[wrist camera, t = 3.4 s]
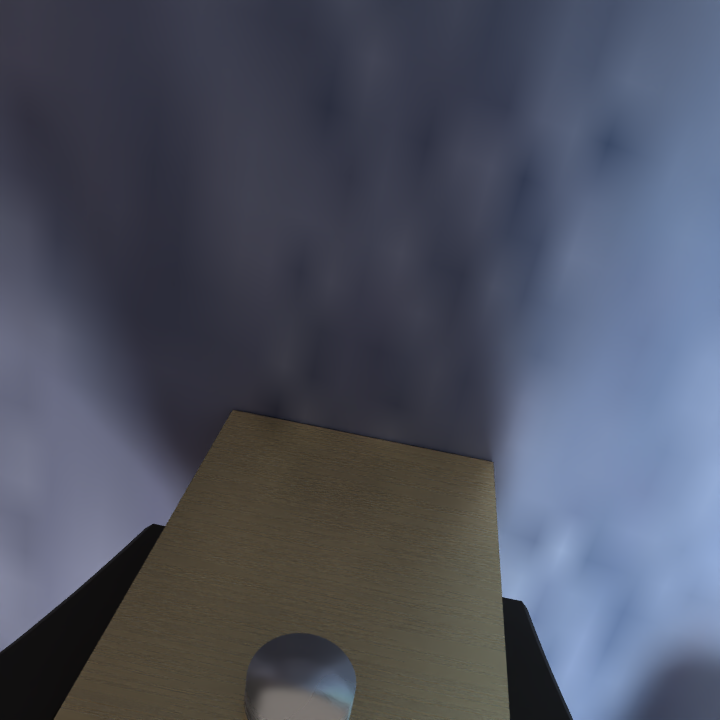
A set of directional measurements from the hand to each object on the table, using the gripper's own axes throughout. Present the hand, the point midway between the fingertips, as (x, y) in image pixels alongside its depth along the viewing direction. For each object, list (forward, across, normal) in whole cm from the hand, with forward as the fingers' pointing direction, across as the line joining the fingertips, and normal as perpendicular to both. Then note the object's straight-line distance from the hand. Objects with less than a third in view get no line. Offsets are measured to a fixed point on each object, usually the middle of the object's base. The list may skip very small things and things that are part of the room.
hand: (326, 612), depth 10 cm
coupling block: (+2, 0, 0) cm, 2 cm away
